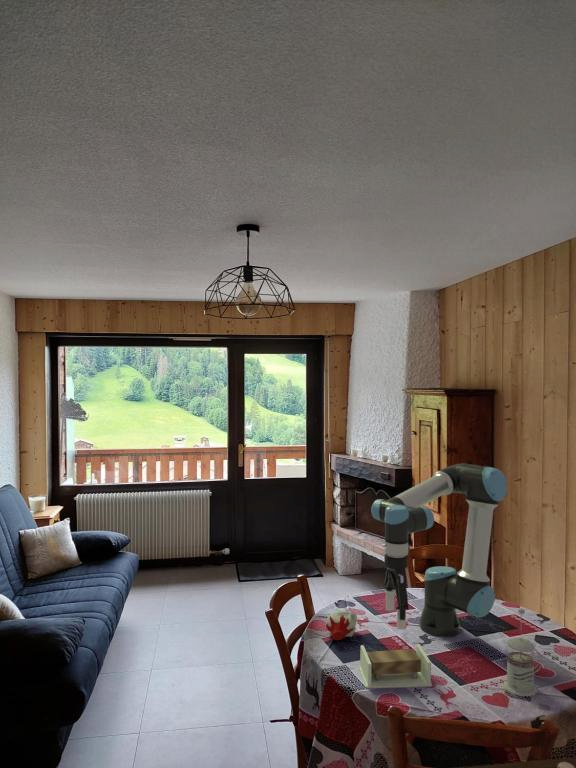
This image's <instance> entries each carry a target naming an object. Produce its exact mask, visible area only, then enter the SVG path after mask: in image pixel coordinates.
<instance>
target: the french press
mask: <svg viewBox="0 0 576 768" xmlns="http://www.w3.org/2000/svg"><path fill="white" fill-rule="evenodd" d="M517 612H518V613H519V614H520V630H522V625H523V624H522V623H523V622H522V621H523V620H522V619H523V618H522V615H523V614H525V610H524V609H523V608H519V609H518V610H517ZM506 644H507V645H508V647H509V648H510V649H512V650H515V651H511V652H509V653H508V655H507V662H506V663H507V664H506V667H507V668H506V680H505V681H504V682H503V688H504V689H505V690H507V692H509V693H511V694H513V695H516V696H520V697H525V696H527V697H528V696H529V697H532V696H531V695H534V694H535V693H536V690H537V688H536V687H535V686H534V683H535V682H534V677H535V674H536V673H537V672H539V671H540V670H541V669H542V665H543V656H542V654H541V652H539V650H537V649H536V646H535V645H534V643H533V642H531V641H530V640H528V639H526V638H523V637H513V638H510V639H507V641H506ZM530 652H531V654H532V655H533V654H535V652H536V653H537V655H538V657H540V658H541V659H538V661H537V664H536V666H535V665H534V663H533V661H534V659H533V657H532V656H531V655H530V654H527V653H530ZM540 661H541V663H540ZM539 663H540V666H539ZM538 666H539V667H538ZM537 667H538V669H537ZM535 669H537V670H535ZM536 694H537V693H536ZM536 694H535V695H536ZM535 695H534V696H535Z"/></svg>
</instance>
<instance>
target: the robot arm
mask: <svg viewBox="0 0 576 768" xmlns="http://www.w3.org/2000/svg"><path fill="white" fill-rule="evenodd" d="M507 492H508V483H507V478H506V477H505V474H504V472H502V471H501V470H500V469H498V468H494V467H491V466H484V465H483V466H482V465H478V464H470V463H463V462H462V463H455V464H453V465H449V466H446V467H443V468H442V469H439V470H437V471H436V472H434V473H433V475H432V477H430V478H428V479H426V480H424V481H422V482H420V483H419V484H418V483H417V484H416V485H415V486H412V487H411V488H408V489H407V490H404V491H403V492H400V493H399V494H397V495H395V496H393V497H391V498H389V499H380V498H379V499H376V500H374V502H373V503H372V505H371V508H370V511H371V516H372V518H373V519H374V520H376V521H378V522H381V523H384V543H383V545H382V546H383V548H384V553H385V554H384V558H383V559H384V563H383V564H384V566H385V567H386V571H385V575H384V576H385V577H384V582H383V585H384V587H385V588H384V589H385V611H387V612H391V611H392V612H394V611H395V609H396V630H407V610H409V609H410V608H409V600H408V591H407V589H408V588H407V576H406V575H404V573H403V570H405V569H408V566H409V556H408V554H409V534H413V533H417V532H422V531H423V532H424V531H425V530H428V529H431V528H432V527H433V526H434V522H435V516H434V513H433V511H432V510H431V509H430V508H429V507H426V506H425V505H427V504H428V503H431V502H432V501H433V500H436V499H437V498H440V497H441V496H448V495H451V494H454V493H457V494H464V495H465V501H466V502H467V503H468V514H467V520H466V521H467V524H466V529H465V530H466V532H465V538H464V539H465V541H464V548H463V549H464V550H463V555H462V566H461V569H460V570H459V571H457V570H456V568H454V567H451V566H443V565H442V566H441V565H440V566H439V565H438V566H432V567H428V568H427V569H426V570H425V572H424V606H423V608H422V611H421V614H420V618H419V627H420V629H421V630H422V631H424V632H426V634H427V633H428V634H430V635H433V636H437V637H438V636H439V637H452V636H456V635H458V634H459V633H460V630H461V627H460V626H461V624H460V620H459V618H458V613H457V610H458V611H461V612H463V613H466V614H467V615H469V616H474V617H477V618H483V617H485V616H487V615H488V614H489V612H491V610H492V609H493V606H494V604H495V600H496V592H495V589H494V588H493V587H492V586H490V581H491V580H490V578H489V576H488V575H487V570H488V561H489V551H490V543H491V535H492V534H491V533H492V525H493V516H494V510H495V508H497V507H498V506H499V502H501V501H503V500H504V499H505V496H506V495H507ZM395 596H396V602H397V606H395Z"/></svg>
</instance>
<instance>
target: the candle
mask: <svg viewBox="0 0 576 768" xmlns="http://www.w3.org/2000/svg"><path fill="white" fill-rule="evenodd" d="M357 621H358V616H357V614H356V613H355V612H354V611H351V610H348V611H346V610H337V611H334V612H333V613H331V614H330V615H328V617H327V619H326V623H325V628H326V629H327V632H328V633H329V635H330V637H332V639H334V641H340V640H343V639H346V638H347V637H349V638H352V637H353V636H354V633H355V631H356V627H357Z"/></svg>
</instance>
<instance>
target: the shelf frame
mask: <svg viewBox="0 0 576 768" xmlns="http://www.w3.org/2000/svg"><path fill="white" fill-rule="evenodd" d="M415 647H416V651H415V652H416V654H417V655H418V656H419V658H420V659H421V672H414V673H401V674H387V675H374V676H373V675H372V673H371V666H372V664H371V662H370V659H369V657H368V655H367V652H368V651H367V650H366V648H365V646H364V645H360V650H359V651H360V657H359V659H360V660H359V661H360V662H359V666H358V669H359V672H360V676H361V677H362V680H363V683H364V685H365V688H366V689H385V688H386V689H389V688H390V689H392V688H395V689H396V688H419V687H420V688H422V687H423V688H426V687H429V688H430V687H433V684H432V678H431V677H432V661H431V660H430V659H429V657H428V655H427V654H426V652H425V651H424V650H423V647H422V646H421V644H420V643H416V646H415Z"/></svg>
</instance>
